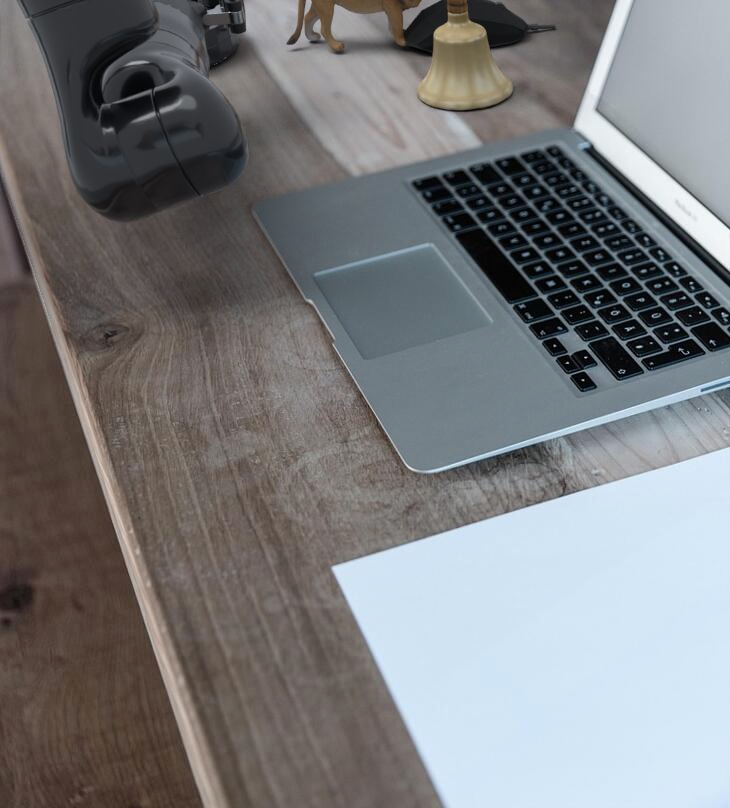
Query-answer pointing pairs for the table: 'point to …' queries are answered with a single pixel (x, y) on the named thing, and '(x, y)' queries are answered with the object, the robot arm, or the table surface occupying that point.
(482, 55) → the hand bell
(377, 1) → the lion figurine
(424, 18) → the gaming mouse
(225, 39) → the pan
